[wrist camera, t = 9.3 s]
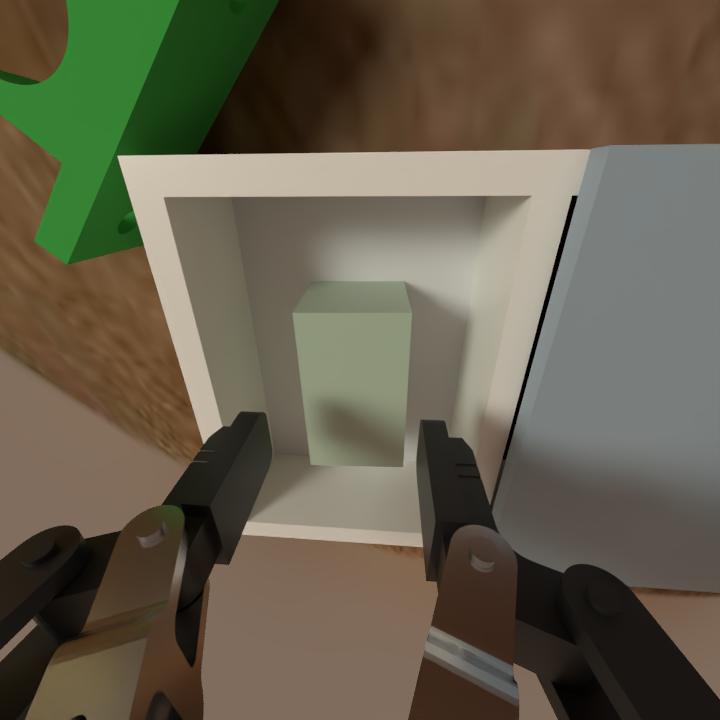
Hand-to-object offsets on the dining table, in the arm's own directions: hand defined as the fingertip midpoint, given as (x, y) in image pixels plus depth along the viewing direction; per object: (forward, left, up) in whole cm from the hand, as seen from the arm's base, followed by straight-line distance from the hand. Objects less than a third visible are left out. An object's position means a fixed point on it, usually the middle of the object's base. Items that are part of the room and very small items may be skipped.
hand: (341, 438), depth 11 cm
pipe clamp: (+7, -10, -7) cm, 14 cm away
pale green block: (0, 0, -6) cm, 6 cm away
